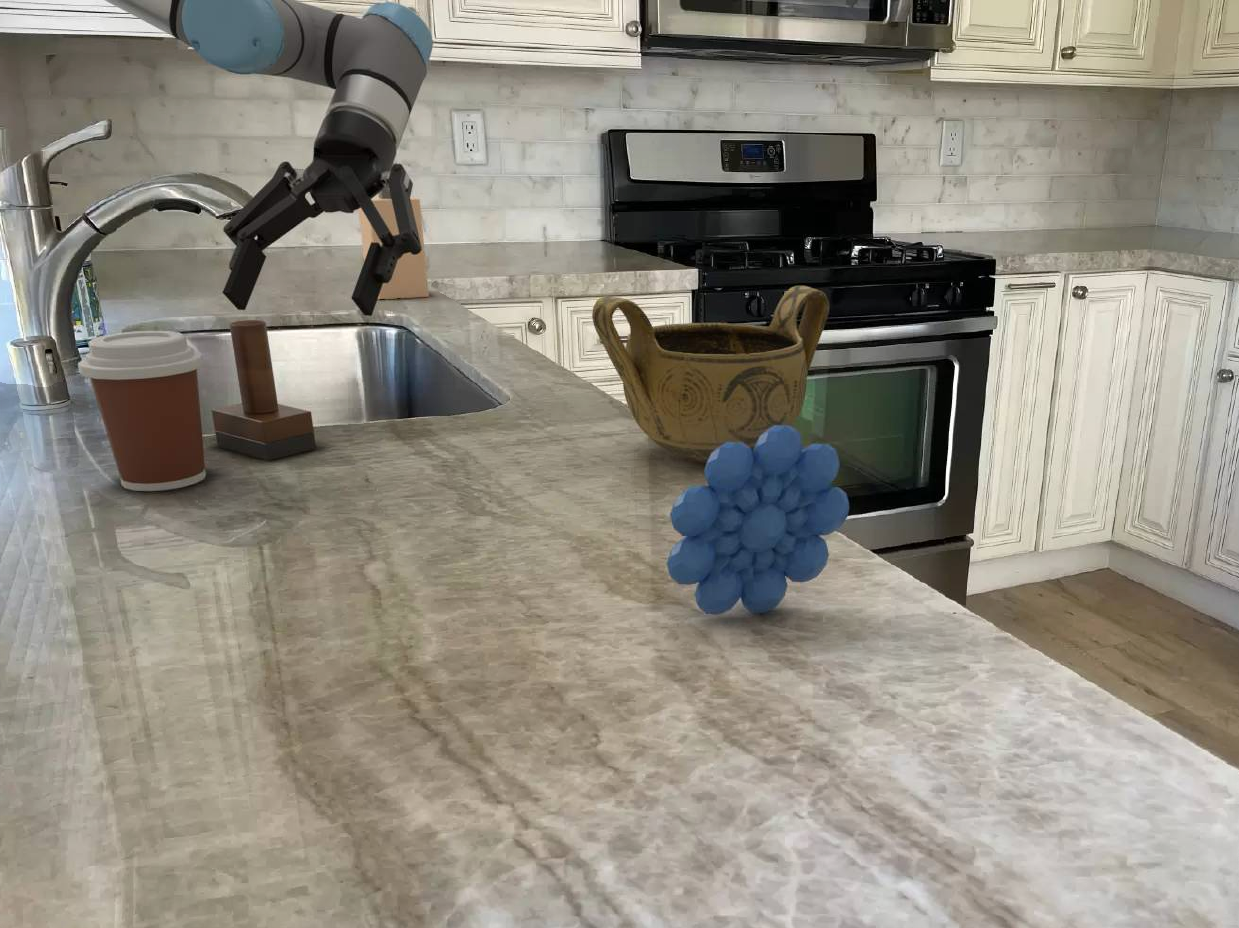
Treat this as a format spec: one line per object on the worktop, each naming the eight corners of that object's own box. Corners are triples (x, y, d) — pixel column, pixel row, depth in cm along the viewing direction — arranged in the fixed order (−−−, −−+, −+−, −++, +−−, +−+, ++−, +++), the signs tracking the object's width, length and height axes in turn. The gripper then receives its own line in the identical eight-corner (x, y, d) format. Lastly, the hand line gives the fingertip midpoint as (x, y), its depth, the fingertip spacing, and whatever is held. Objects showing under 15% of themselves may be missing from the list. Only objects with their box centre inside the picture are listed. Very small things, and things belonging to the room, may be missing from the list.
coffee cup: (132, 465, 100) (105, 328, 95) (238, 463, 100) (216, 328, 96) (82, 496, 91) (50, 348, 87) (199, 495, 92) (172, 347, 87)
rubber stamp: (217, 447, 105) (195, 321, 101) (265, 435, 109) (246, 314, 105) (268, 461, 101) (248, 331, 97) (316, 449, 105) (299, 323, 101)
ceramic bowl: (645, 497, 92) (640, 312, 87) (567, 448, 106) (558, 285, 100) (866, 460, 103) (873, 293, 98) (769, 420, 117) (771, 271, 111)
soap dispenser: (367, 293, 199) (352, 161, 191) (416, 290, 203) (403, 161, 195) (384, 303, 189) (369, 164, 181) (435, 299, 193) (423, 163, 185)
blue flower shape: (820, 577, 76) (825, 403, 72) (859, 616, 70) (868, 429, 66) (652, 597, 73) (647, 415, 69) (678, 639, 67) (675, 444, 63)
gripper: (487, 163, 117) (433, 333, 109) (272, 159, 122) (204, 322, 113) (459, 107, 110) (399, 284, 102) (233, 105, 115) (158, 274, 107)
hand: (296, 304), depth 108 cm, fingers open, 13 cm apart
